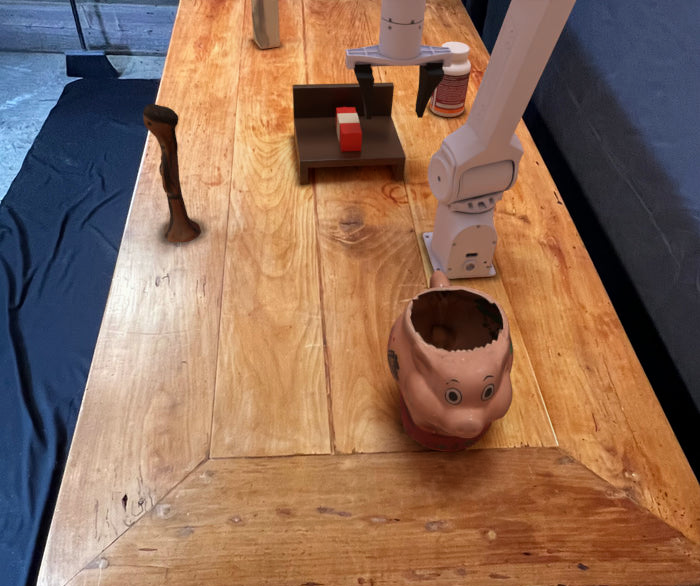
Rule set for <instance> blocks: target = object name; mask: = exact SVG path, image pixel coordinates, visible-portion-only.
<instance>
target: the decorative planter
mask: <svg viewBox="0 0 700 586" xmlns="http://www.w3.org/2000/svg"><path fill="white" fill-rule="evenodd" d="M389 331H390V332H389V336H388V339H387V346H386V347H387V348H386V356H387V357H386V358H387V363H388V368H389V372H390V375H391V376H392V378H393V380H394V381H395V383H396V384H397V385H398V390H399V404H398V409H399V416H400V419H401V422H402V426H403V430H404V431H405V433H406V435H407V436H408V437H409V438H411V439H412V440H413V441H415V442H417V444H420V445H421V446H423V447H425V448H428V449H432V450H436V451H442V452H454V451H455V452H456V451H461V450H464V449H468V448H470V447H472V446H474V445H475V444H477V443H478V442H479V441H481V440H482V439H483V438H484V436H485V435H486V434H487V432H488V431H489V430H490V428H491V426H492V424H493V422H495V421H499V420H501V419H503V418H504V417H505V416H506V415H507V413H508V411H509V410H510V407H511V405H512V401H513V393H514V392H513V385H512V380H511V372H512V368H513V363H514V345H513V340H512V336H511V332H510V331H511V330H510V322H509V319H508V317H507V314H506V311H505V310H504V308H503V307H502V305H501V304H500V303H499V302H498V300H496V299H495V298H494V297H493V296H491V295H489V294H488V293H486V292H484V291H482V290H479V289H476V288H473V287H468V286H463V285H452V283H451V281H450V279H449V278H448V277H447V276H446V275H445V273H443V272H442V271H439V270H436V271H435V272H434V271H433V273H432V274H431V276H430V277H429V285H428V288H427V289H424V290H422V291H419V292H418V293H416V294H415V295H414V296H412V298H410V300H409V301H408V303H407V306H406V307H405V309H404V311H403V312H402V313H401V314H399V315H398V316H397V318H396V319H395V320H394V322H393V324H392V326H391V328H390V330H389Z"/></svg>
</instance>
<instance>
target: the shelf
mask: <svg viewBox="0 0 700 586" xmlns="http://www.w3.org/2000/svg"><path fill="white" fill-rule="evenodd" d="M291 87H292V111H293V112H292V116H293V140H294V147H295V155H296V163H297V170H298V171H297V172H298V177H299V184H300V185H309V168H310V169H311V168H336V167H337V168H339V167H360V166H364V167H365V166H390V167H391V170H392V173H393V176H394V179H395V181H404V177H405V170H406V160H407V156H406V153H405V150H404V148H403V146H402V142H401V139H400V137H399V134H398V131H397V128H396V124H395V122H394V119H393V117H392V115H393V114H392V113H393V103H394V102H393V101H394V93H395V84H394V82H374V85H373V92H372V116H371V119H366V117H365V114H364V103H363V97H362V93H361V89H360V86H359V83H358V82H352V83H351V82H350V83H347V82H346V83H309V84H308V83H307V84H303V83H302V84H301V83H300V84H292V86H291ZM342 107H355V109H356V113H357V115H358V118H359V122H360V127H361V131H362V144H361V151H347V152H342V151H341V147H340V142H339V140H338V135H337V129H336V108H342Z"/></svg>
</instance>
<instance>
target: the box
mask: <svg viewBox="0 0 700 586" xmlns="http://www.w3.org/2000/svg"><path fill="white" fill-rule="evenodd" d="M250 6H251V22H252V23H251V24H252V25H251V26H252V39H253V41H254V43H255V44H256V45H257V47H258V48H259V49H261V50H264V49H271V48H272V49H274V48H279V47H280V46H281V41H280V40H281V36H280V35H281V34H280V1H279V0H250Z"/></svg>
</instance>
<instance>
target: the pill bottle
mask: <svg viewBox="0 0 700 586" xmlns="http://www.w3.org/2000/svg"><path fill="white" fill-rule="evenodd" d="M441 47H449V48H450V49H451V51H452V53H453V54H452V61H451V67H443V70H444V77H443V80H442V81H441V82H440V83H439V85H438V86H437V87H436V89H435V91H434V92H433V94H432V96H431V98H430V100H429V109H430V111H431V112H432V113H433V114H435V115H436V116H440V117H444V118H454V117H458V116H460V115H461V114H463V112H464V110H465V104H466V99H467V93H468V89H469V82H470V75H471V71H472V70H471V69H472V64H471V61H470V60H469V59H468V58H469V56H470V46H469V45H468V44H466V43H463V42H460V41H446V42H444V43H443V44H442V45H441Z"/></svg>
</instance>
